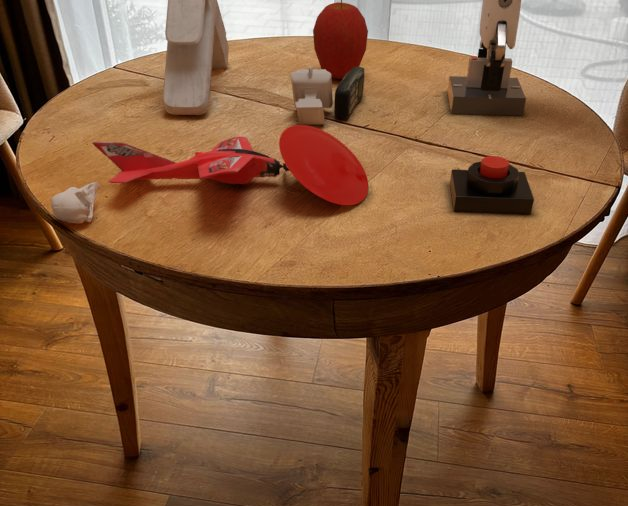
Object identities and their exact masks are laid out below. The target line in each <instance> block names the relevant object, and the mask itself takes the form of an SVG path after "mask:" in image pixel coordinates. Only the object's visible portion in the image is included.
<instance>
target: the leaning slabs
mask: <svg viewBox="0 0 628 506" xmlns="http://www.w3.org/2000/svg"><path fill="white" fill-rule="evenodd" d="M164 34H165V40H166V42H167V43H166V56H165V66H164V67H165V68H164V79H163V90H162V91H163V92H162V100H161V101H162V106H163V109H164V110H165V111H166V112H167V114H170V115H175V116H177V115H178V116H180V115H181V116H201V115H204V114H205V113H207V111H208V110H209V107H210V96H211V85H212V83H211V82H212V69H228V65H229V50H230V45H229V42H228V39H227V31H226V27H225V24H224V21H223V17H222V13H221V9H220V5H219V2H218V0H167V9H166V20H165V31H164Z"/></svg>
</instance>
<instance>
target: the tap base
mask: <svg viewBox="0 0 628 506" xmlns="http://www.w3.org/2000/svg"><path fill="white" fill-rule="evenodd" d="M466 78H467V76H458V75H455V76H453V75H450V76H449V77H448V85H447V98H448V105H449V109H450V114H452V115H477V116H479V115H480V116H481V115H482V116H513V117H514V116H515V117H523V116H524V111H525V107H526V103H527V97H526V94H525V93H524V90H523V88H522V85H521V83H520V81H519V78H518V77H510V79H509V84H508V88H501V89H500V90H499V91H482V90H481V88H470V87H466Z"/></svg>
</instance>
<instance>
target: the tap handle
mask: <svg viewBox="0 0 628 506" xmlns="http://www.w3.org/2000/svg"><path fill="white" fill-rule="evenodd" d="M486 60H487V58H478V55H472V56H470V57H468V65H467V72H466V77H467V78H466V87H470V88H481V82H482V75H483V69H484V65H486ZM513 63H514V62H513V59H512V58H508V57H505V63H504V72H503V77H502V83H501V88H508V84H509V79H510V78H511V72H512V66H513Z"/></svg>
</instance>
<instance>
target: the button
mask: <svg viewBox="0 0 628 506" xmlns="http://www.w3.org/2000/svg"><path fill="white" fill-rule="evenodd" d="M480 161H481V167H480V174H481V175H483V176H485V177H488V178H499V179H501V178H505V177H507V174H508V169H509V164H510V161H509V160H508V159H507V158H505V157H502V156H498V155H489V156H484V157H483V158H482V159H481V160H480Z"/></svg>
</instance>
